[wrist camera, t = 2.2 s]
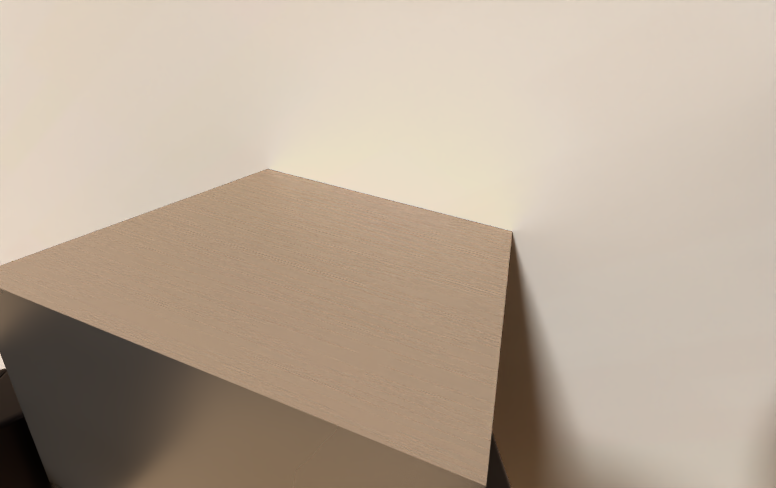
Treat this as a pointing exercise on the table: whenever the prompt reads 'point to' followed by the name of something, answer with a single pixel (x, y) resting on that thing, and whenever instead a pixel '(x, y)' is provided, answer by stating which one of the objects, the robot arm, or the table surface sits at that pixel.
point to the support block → (262, 343)
